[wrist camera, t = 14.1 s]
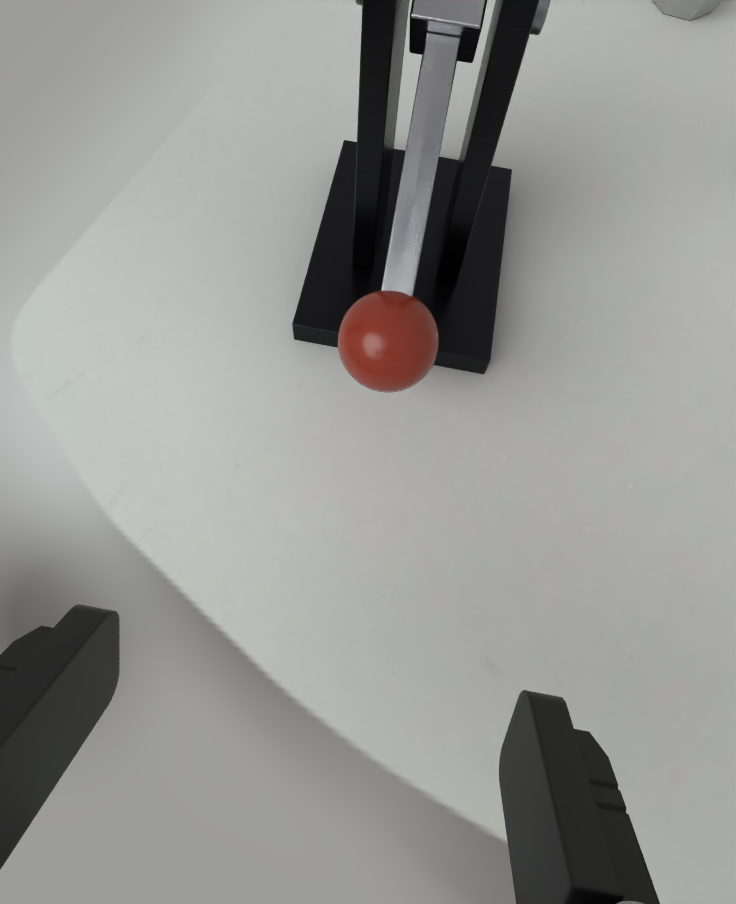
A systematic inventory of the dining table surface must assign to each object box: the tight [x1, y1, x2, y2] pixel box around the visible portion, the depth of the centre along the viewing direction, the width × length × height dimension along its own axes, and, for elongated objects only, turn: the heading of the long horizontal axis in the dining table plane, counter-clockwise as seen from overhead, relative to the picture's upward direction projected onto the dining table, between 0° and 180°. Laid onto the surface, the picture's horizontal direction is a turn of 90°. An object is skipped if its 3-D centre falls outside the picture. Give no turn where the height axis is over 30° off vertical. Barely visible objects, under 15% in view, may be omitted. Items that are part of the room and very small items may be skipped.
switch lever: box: [338, 0, 487, 392], centre depth 20 cm, size 14×4×4 cm
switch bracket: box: [292, 0, 550, 374], centre depth 23 cm, size 12×9×14 cm
